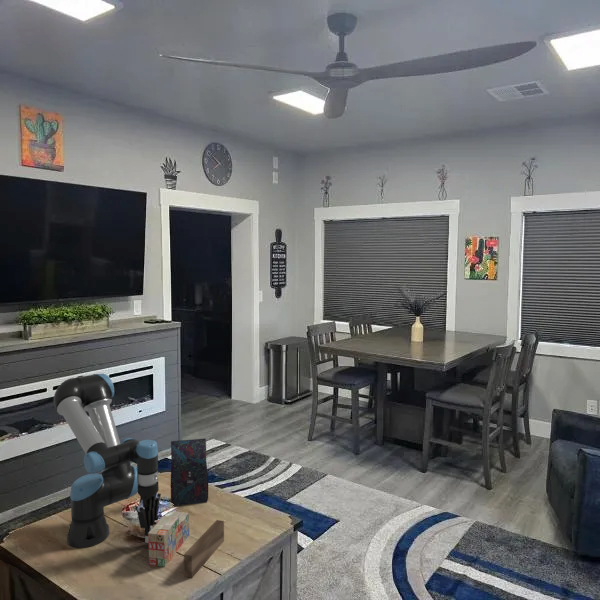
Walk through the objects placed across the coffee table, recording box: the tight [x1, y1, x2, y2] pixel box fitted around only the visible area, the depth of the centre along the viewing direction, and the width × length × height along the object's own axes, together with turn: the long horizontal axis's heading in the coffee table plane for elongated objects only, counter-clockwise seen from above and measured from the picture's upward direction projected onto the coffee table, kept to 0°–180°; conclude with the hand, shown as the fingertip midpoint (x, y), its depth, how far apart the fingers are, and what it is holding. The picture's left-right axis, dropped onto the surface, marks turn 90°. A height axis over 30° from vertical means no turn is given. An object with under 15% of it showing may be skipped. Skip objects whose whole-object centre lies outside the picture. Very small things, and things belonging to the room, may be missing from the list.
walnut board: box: [183, 519, 225, 579], centre depth 186 cm, size 3×24×8 cm, turn 162°
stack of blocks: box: [147, 511, 190, 568], centre depth 191 cm, size 21×6×12 cm, turn 169°
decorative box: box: [170, 438, 209, 507], centre depth 228 cm, size 8×16×28 cm, turn 104°
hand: (149, 542), depth 193 cm, fingers closed
